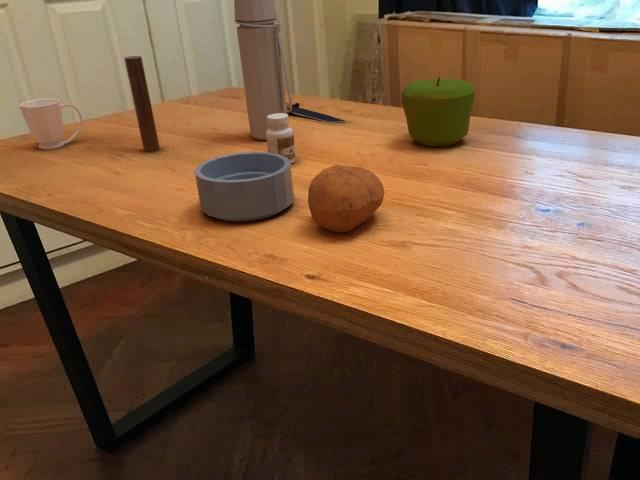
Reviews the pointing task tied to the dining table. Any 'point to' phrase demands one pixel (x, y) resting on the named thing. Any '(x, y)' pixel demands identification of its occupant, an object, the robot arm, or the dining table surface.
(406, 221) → the dining table surface
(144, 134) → the stick
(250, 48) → the water bottle
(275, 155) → the bowl
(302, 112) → the knife
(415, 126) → the apple
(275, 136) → the pill bottle
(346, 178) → the potato
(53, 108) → the cup
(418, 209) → the dining table surface
